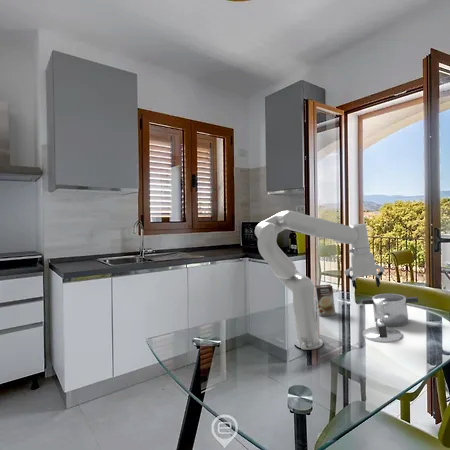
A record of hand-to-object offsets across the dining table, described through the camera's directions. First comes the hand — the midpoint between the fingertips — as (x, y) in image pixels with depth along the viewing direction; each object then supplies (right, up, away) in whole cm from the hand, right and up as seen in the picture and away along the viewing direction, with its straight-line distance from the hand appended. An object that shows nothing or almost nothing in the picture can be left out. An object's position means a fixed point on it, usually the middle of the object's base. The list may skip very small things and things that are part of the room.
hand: (366, 287), depth 150 cm
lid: (+6, -21, -3) cm, 22 cm away
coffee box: (-8, -22, +35) cm, 42 cm away
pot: (+17, -19, +11) cm, 28 cm away
